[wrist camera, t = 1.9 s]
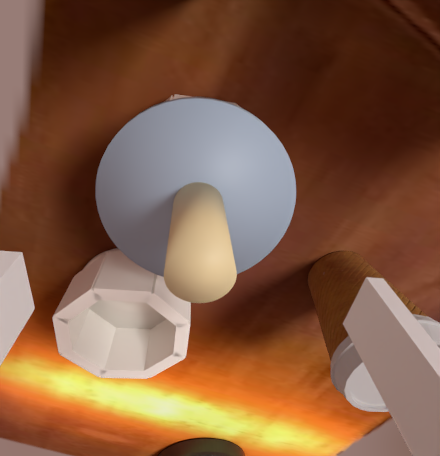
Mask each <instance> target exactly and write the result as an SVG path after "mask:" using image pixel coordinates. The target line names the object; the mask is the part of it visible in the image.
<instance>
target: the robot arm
mask: <svg viewBox="0 0 440 456" xmlns="http://www.w3.org/2000/svg"><path fill="white" fill-rule="evenodd" d="M34 309H35V306H34V302H33V298H32V293H31V289H30V284H29V280H28V276H27V271H26V267H25V263H24V258H23V254H22V252H10V251H0V365H1V364H2V362H3V360H4V359H5V357H6V356H7V354H8V352H9V351H10V349H11V347H12V346H13V344H14V342H15V341H16V339H17V337H18V336H19V334H20V332H21V331H22V329H23V328H24V326H25V324H26V323H27V321H28V319H29V318H30V316H31V314H32V313H33V311H34ZM343 325H344V327H345V329H346V331H347V333H348V335H349V337H350V338H351V340H352V342H353V344H354V346H355V348H356V350H357V352H358V354H359V355H360V357H361V359H362V361H363V363H364V365H365V367H366V369H367V371H368V373H369V374H370V376H371V378H372V380H373V382H374V384H375V386H376V388H377V390H378V391H379V393H380V395H381V397H382V399H383V401H384V403H385V405H386V407H387V408H388V410H389V412H390V414H391V416H392V418H393V420H394V422H395V423H396V425H397V427H398V429H399V431H400V433H401V435H402V436H403V439H404V440H405V443H406V444H407V446H408V448H409V450H410V452H411V454H412V456H440V348H439V347H438V346H437V345H436V343H435V342H434V341H433V340H432V338H431V337H430V336H429V335H428V333H427V332H426V331H425V330H424V328H423V327H422V326H421V325H420V323H419V322H418V321H417V320H416V318H415V317H414V316H413V315H412V314H411V312H410V311H409V310H408V309H407V307H406V306H405V305H404V304H403V302H402V301H401V300H400V299H399V297H398V296H397V295H396V294H395V292H394V291H393V290H392V289H391V287H390V286H389V285H388V284H387V282H386V281H385V280H384V279H383V278H371V277H366V278H365V280H364V282H363V284H362V286H361V288H360V290H359V292H358V294H357V296H356V298H355V300H354V302H353V304H352V306H351V308H350V310H349V312H348V314H347V316H346V318H345V320H344V322H343ZM158 456H245V454H244V451H243V450H242V449H241V448H240V447H239V446H237V445H236V444H234V443H231V442H228V441H224V440H219V439H194V440H188V441H183V442H180V443H177V444H174V445H172V446H170V447H168V448H166V449H165V450H163V451H162V452H161V453H160V454H159V455H158Z"/></svg>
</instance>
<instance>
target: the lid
mask: <svg viewBox="0 0 440 456" xmlns="http://www.w3.org/2000/svg"><path fill="white" fill-rule="evenodd" d="M295 202H296V180H295V175H294V170H293V166H292V164H291V161H290V158H289V156H288V154H287V152H286V150H285V148H284V147H283V145H282V143H281V142H280V141H279V139H278V138H277V137H276V135H275V134H274V133H273V132H272V131H271V130H270V129H269V128H268V127H267V126H266V125H265V124H264V123H263V122H262V121H261V120H260V119H258V118H257V117H256V116H254V115H253V114H252V113H250V112H248V111H246V110H245V109H243V108H241V107H239V106H237V105H234V104H232V103H229V102H226V101H223V100H218V99H214V98H206V97H184V98H177V99H173V100H168V101H165V102H162V103H159V104H156V105H154V106H152V107H150V108H148V109H146V110H144V111H142V112H141V113H139V114H138V115H137V116H135V117H134V118H133V119H131V120H130V121H129V122H128V123H127V124H126V125H125V126H124V127H123V128H122V129H121V130H120V131H119V132H118V133H117V134H116V136H115V137H114V138H113V140H112V141H111V142H110V144H109V145H108V147H107V149H106V151H105V153H104V155H103V157H102V159H101V162H100V165H99V168H98V172H97V178H96V203H97V209H98V212H99V216H100V219H101V221H102V224H103V226H104V228H105V230H106V232H107V234H108V235H109V237H110V238H111V240H112V241H113V242H114V244H115V245H116V246H117V247H118V249H119V250H120V251H121V252H122V253H123V254H124V255H126V256H127V257H128V258H129V259H130V260H132V261H133V262H134V263H136V264H137V265H139V266H140V267H142V268H144V269H146V270H148V271H150V272H152V273H154V274H156V275H159V276H162V277H164V281H165V284H166V286H167V288H168V289H169V291H170V292H171V293H172V294H173V295H175V296H176V297H178V298H179V299H182V300H184V301H187V302H192V303H206V302H211V301H214V300H217V299H219V298H221V297H223V296H224V295H226V294H227V293H228V292H229V291H230V290H231V289H232V287H233V286H234V283H235V281H236V277H237V274H238V273H241V272H243V271H245V270H247V269H248V268H250V267H252V266H254V265H255V264H257V263H258V262H259V261H261V260H262V259H263V258H264V257H266V256H267V255H268V254H269V253H270V252H271V251H272V250H273V249H274V248H275V246H276V245H277V244H278V243H279V241H280V240H281V238H282V237H283V236H284V234H285V232H286V230H287V228H288V226H289V224H290V221H291V218H292V216H293V212H294V207H295Z"/></svg>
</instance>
